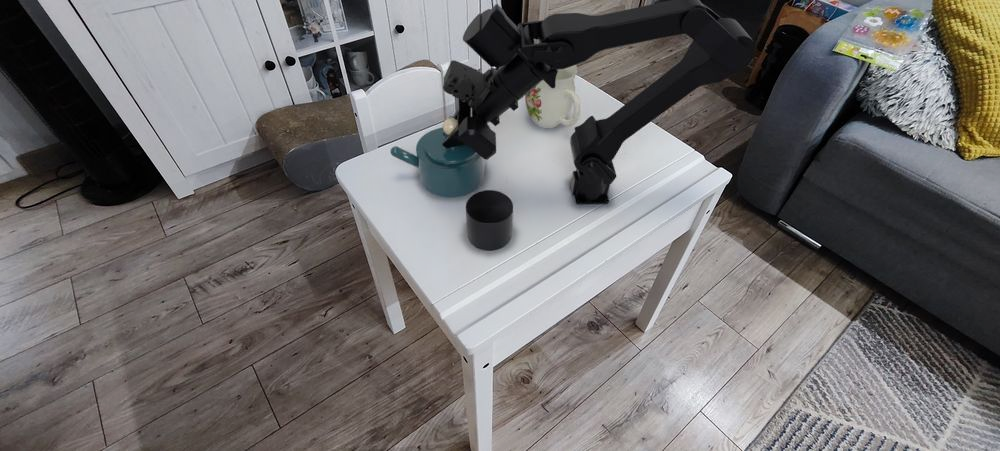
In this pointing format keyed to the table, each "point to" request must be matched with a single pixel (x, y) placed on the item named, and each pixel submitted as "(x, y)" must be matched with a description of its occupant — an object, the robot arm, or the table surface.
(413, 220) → the table surface
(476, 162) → the teapot
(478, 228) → the tea tin
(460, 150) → the teapot lid
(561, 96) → the pitcher
